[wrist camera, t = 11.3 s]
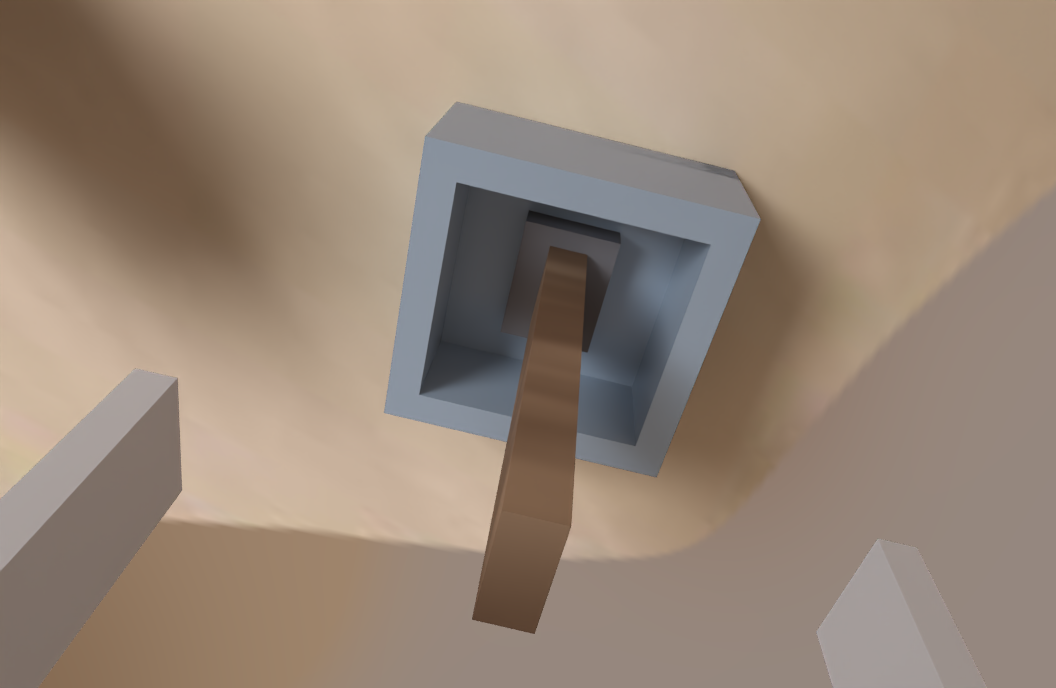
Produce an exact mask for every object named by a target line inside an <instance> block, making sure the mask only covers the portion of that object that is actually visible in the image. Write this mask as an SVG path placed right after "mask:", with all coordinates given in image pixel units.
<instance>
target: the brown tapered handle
mask: <svg viewBox="0 0 1056 688" xmlns="http://www.w3.org/2000/svg"><path fill="white" fill-rule="evenodd" d="M620 245H621V237H620V232H616V231H612V230H608V229H603V228H599V227H595V226H591V225H587V224H583V223H579V222H575V221H571V220H567V219H563V218H559V217H555V216H550V215H546V214H542V213H538V212H534V211H530V210H529V212H528V216H527V219H526V223H525V227H524V232H523V236H522V240H521V245H520V249H519V253H518V258H517V262H516V266H515V271H514V275H513V279H512V283H511V288H510V292H509V296H508V301H507V305H506V309H505V314H504V318H503V322H502V327H501V331H500V332H503V333H507V334H511V335H515V336H520V337H524V338H527V343H526V348H525V353H524V358H523V363H522V368H521V373H520V378H519V383H518V389H517V394H516V399H515V404H514V409H513V414H512V419H511V424H510V429H509V434H508V439H507V444H506V450H505V455H504V460H503V465H502V470H501V475H500V480H499V485H498V490H497V495H496V500H495V505H494V511H493V516H492V521H491V526H490V531H489V536H488V541H487V546H486V551H485V556H484V562H483V567H482V572H481V577H480V582H479V587H478V592H477V597H476V602H475V607H474V612H473V617H472V619H473V620H476V621H481V622H485V623H490V624H494V625H498V626H503V627H507V628H511V629H516V630H520V631H524V632H529V633H533V634H535V631H536V628H537V625H538V622H539V619H540V616H541V613H542V610H543V608H544V605H545V601H546V599H547V596H548V593H549V590H550V587H551V584H552V581H553V578H554V575H555V572H556V569H557V566H558V564H559V561H560V558H561V555H562V552H563V549H564V546H565V543H566V540H567V537H568V534H569V531H570V528H571V521H572V504H573V488H574V471H575V454H576V437H577V421H578V404H579V387H580V371H581V354H582V352H586V353H588V350H589V346H590V343H591V340H592V337H593V333H594V330H595V327H596V324H597V320H598V317H599V314H600V310H601V307H602V304H603V301H604V297H605V294H606V291H607V288H608V284H609V281H610V278H611V275H612V271H613V268H614V265H615V262H616V258H617V255H618V252H619V248H620Z"/></svg>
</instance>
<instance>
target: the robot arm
mask: <svg viewBox="0 0 1056 688" xmlns="http://www.w3.org/2000/svg"><path fill="white" fill-rule="evenodd" d="M181 491H182V478H181V452H180V427H179V401H178V378H175V377H171V376H166V375H162V374H158V373H153V372H149V371H144V370H140V369H136V368H135V369H134V370H133V371H132V372H131V373H130V374H129V375H128V376H127V377H126V378H125V379H124V380H123V381H122V382H121V383H120V384H119V385H118V386H116V387H115V388H114V389H113V390H112V391H111V392H110V393H109V394H108V395H107V396H106V397H105V398H104V399H103V400H102V401H101V402H100V403H99V404H98V405H97V406H96V407H95V408H94V409H93V410H92V411H91V412H90V413H89V414H88V415H87V416H86V417H85V418H83V419H82V420H81V421H80V422H79V423H78V424H77V425H76V426H75V427H74V428H73V429H72V430H71V431H70V432H69V433H68V434H67V435H66V436H65V437H64V438H63V439H62V440H61V441H60V442H59V443H58V444H57V445H56V446H55V447H54V448H53V449H52V450H50V451H49V452H48V453H47V454H46V455H45V456H44V457H43V458H42V459H41V460H40V461H39V462H38V463H37V464H36V465H35V466H34V467H33V468H32V469H31V470H30V471H29V472H28V473H27V474H26V475H25V476H24V477H23V478H22V479H21V480H20V481H19V482H18V483H16V484H15V485H14V486H13V487H12V488H11V489H10V490H9V491H8V492H7V493H6V494H5V495H4V496H3V497H2V498H1V499H0V688H38V687H39V686H40V684H41V683H42V681H43V680H44V679H45V677H46V676H47V675H48V673H49V672H50V670H51V669H52V668H53V666H54V665H55V664H56V662H57V661H58V660H59V658H60V657H61V655H62V654H63V653H64V651H65V650H66V649H67V647H68V646H69V644H70V643H71V642H72V640H73V639H74V637H75V636H76V635H77V633H78V632H79V631H80V629H81V628H82V627H83V625H84V624H85V622H86V621H87V620H88V618H89V617H90V615H91V614H92V613H93V612H94V610H95V609H96V607H97V606H98V605H99V603H100V602H101V600H102V599H103V598H104V596H105V595H106V594H107V592H108V591H109V590H110V588H111V587H112V586H113V584H114V583H115V581H116V580H117V579H118V577H119V576H120V575H121V573H122V572H123V570H124V569H125V568H126V566H127V565H128V564H129V562H130V561H131V559H132V558H133V557H134V555H135V554H136V553H137V551H138V550H139V549H140V547H141V546H142V544H143V543H144V542H145V540H146V539H147V538H148V536H149V535H150V533H151V532H152V531H153V529H154V528H155V527H156V525H157V524H158V523H159V521H160V520H161V518H162V517H163V516H164V514H165V513H166V512H167V510H168V509H169V508H170V506H171V505H172V503H173V502H174V501H175V499H176V498H177V497H178V495H179V494H180V492H181ZM816 634H817V637H818V640H819V644H820V647H821V650H822V653H823V657H824V660H825V664H826V667H827V670H828V674H829V677H830V680H831V684H832V687H833V688H987V686H986V684H985V682H984V680H983V678H982V676H981V674H980V672H979V670H978V668H977V666H976V664H975V662H974V660H973V658H972V656H971V654H970V652H969V650H968V648H967V646H966V644H965V642H964V640H963V638H962V636H961V634H960V632H959V630H958V628H957V626H956V624H955V622H954V620H953V618H952V616H951V614H950V612H949V610H948V608H947V606H946V604H945V602H944V600H943V598H942V596H941V594H940V592H939V590H938V588H937V586H936V584H935V582H934V580H933V578H932V576H931V574H930V572H929V570H928V568H927V566H926V564H925V562H924V560H923V558H922V556H921V554H920V552H919V550H918V548H917V547H914V546H910V545H905V544H901V543H896V542H892V541H888V540H882V539H877V540H876V542H875V543H874V545H873V547H872V548H871V549H870V551H869V552H868V554H867V555H866V557H865V559H864V560H863V561H862V563H861V565H860V566H859V568H858V569H857V571H856V572H855V574H854V575H853V577H852V578H851V580H850V581H849V583H848V584H847V586H846V587H845V589H844V590H843V592H842V593H841V595H840V596H839V598H838V599H837V601H836V602H835V604H834V606H833V607H832V608H831V610H830V612H829V613H828V615H827V616H826V618H825V619H824V621H823V622H822V624H821V625H820V627H819V628H818V630H817V631H816Z"/></svg>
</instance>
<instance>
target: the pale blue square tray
mask: <svg viewBox="0 0 1056 688" xmlns="http://www.w3.org/2000/svg"><path fill="white" fill-rule="evenodd" d="M529 210H530V211H534V212H538V213H542V214H546V215H550V216H555V217H559V218H563V219H567V220H571V221H575V222H579V223H583V224H587V225H591V226H595V227H599V228H603V229H608V230H612V231H616V232H620V237H621V245H620V248H619V252H618V255H617V258H616V262H615V265H614V268H613V271H612V275H611V278H610V281H609V284H608V288H607V291H606V294H605V297H604V301H603V304H602V307H601V310H600V314H599V317H598V320H597V324H596V327H595V330H594V333H593V337H592V340H591V343H590V346H589V350H588V353H586V352H582V354H581V371H580V387H579V404H578V421H577V437H576V454H575V458H577V459H581V460H585V461H589V462H594V463H598V464H602V465H606V466H611V467H615V468H619V469H623V470H627V471H632V472H636V473H640V474H644V475H649V476H653V477H657V475H658V473H659V470H660V468H661V465H662V463H663V460H664V458H665V455H666V453H667V450H668V448H669V445H670V443H671V440H672V438H673V435H674V433H675V430H676V428H677V425H678V423H679V421H680V418H681V416H682V413H683V411H684V408H685V406H686V403H687V401H688V398H689V396H690V393H691V391H692V388H693V386H694V383H695V381H696V378H697V376H698V373H699V371H700V368H701V366H702V364H703V361H704V359H705V356H706V354H707V351H708V349H709V346H710V344H711V341H712V339H713V336H714V334H715V331H716V329H717V326H718V324H719V321H720V319H721V316H722V314H723V312H724V309H725V307H726V304H727V302H728V299H729V297H730V294H731V292H732V289H733V287H734V284H735V282H736V279H737V277H738V274H739V272H740V269H741V267H742V264H743V262H744V260H745V257H746V255H747V252H748V250H749V247H750V245H751V242H752V240H753V237H754V235H755V232H756V230H757V227H758V225H759V222H760V220H761V219H760V217H759V215H758V213H757V211H756V209H755V208H754V206H753V204H752V202H751V200H750V198H749V196H748V195H747V193H746V191H745V189H744V187H743V185H742V184H741V182H740V180H739V178H738V176H737V174H736V173H735V171H733V170H729V169H725V168H721V167H717V166H713V165H709V164H705V163H701V162H697V161H693V160H689V159H685V158H681V157H677V156H673V155H669V154H665V153H661V152H657V151H653V150H649V149H645V148H641V147H637V146H633V145H629V144H625V143H621V142H617V141H613V140H609V139H604V138H600V137H596V136H592V135H588V134H584V133H580V132H576V131H572V130H568V129H564V128H560V127H556V126H552V125H548V124H544V123H540V122H536V121H532V120H528V119H524V118H520V117H516V116H512V115H508V114H504V113H500V112H496V111H492V110H488V109H484V108H480V107H476V106H472V105H468V104H464V103H460V102H456V103H455V104H454V105H453V106H452V107H451V108H450V109H449V110H448V111H447V113H446V114H445V115H444V116H443V117H442V118H441V119H440V120H439V121H438V123H437V124H436V125H435V126H434V127H433V128H432V129H431V130H430V131H429V132H428V134H427V135H426V136H425V141H424V147H423V154H422V161H421V168H420V174H419V181H418V188H417V195H416V201H415V208H414V215H413V222H412V228H411V235H410V242H409V249H408V255H407V262H406V269H405V276H404V282H403V289H402V296H401V303H400V309H399V316H398V323H397V330H396V336H395V343H394V350H393V357H392V363H391V370H390V377H389V384H388V390H387V397H386V404H385V411H384V413H387V414H391V415H395V416H399V417H403V418H408V419H412V420H416V421H420V422H425V423H429V424H433V425H437V426H441V427H446V428H450V429H454V430H458V431H463V432H467V433H471V434H475V435H480V436H484V437H488V438H492V439H496V440H501V441H505V442H507V439H508V434H509V429H510V424H511V419H512V414H513V409H514V404H515V399H516V394H517V389H518V383H519V378H520V373H521V368H522V363H523V358H524V353H525V348H526V343H527V338H524V337H520V336H515V335H511V334H507V333H503V332H500V331H501V327H502V322H503V318H504V314H505V309H506V305H507V301H508V296H509V292H510V288H511V283H512V279H513V275H514V271H515V266H516V262H517V258H518V253H519V249H520V245H521V240H522V236H523V232H524V227H525V223H526V219H527V216H528V212H529Z"/></svg>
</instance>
